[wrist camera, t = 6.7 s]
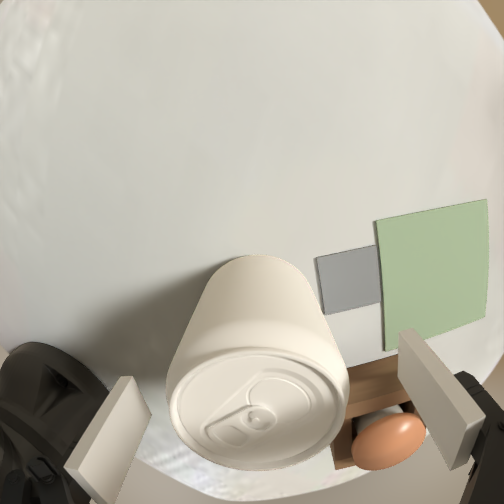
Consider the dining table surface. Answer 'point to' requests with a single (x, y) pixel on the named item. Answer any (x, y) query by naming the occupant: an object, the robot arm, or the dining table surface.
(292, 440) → the beverage can
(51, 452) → the robot arm
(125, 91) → the dining table surface
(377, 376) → the housing
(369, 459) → the plunger
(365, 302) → the pad
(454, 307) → the pad
